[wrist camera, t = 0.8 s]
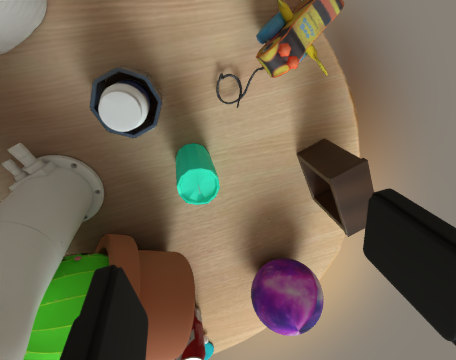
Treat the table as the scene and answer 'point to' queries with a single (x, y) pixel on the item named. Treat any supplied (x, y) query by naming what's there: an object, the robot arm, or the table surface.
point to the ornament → (208, 350)
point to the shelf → (338, 183)
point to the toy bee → (291, 37)
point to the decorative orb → (287, 296)
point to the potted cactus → (143, 286)
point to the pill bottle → (124, 105)
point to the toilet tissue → (19, 21)
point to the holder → (99, 88)
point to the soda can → (195, 340)
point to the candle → (196, 175)
